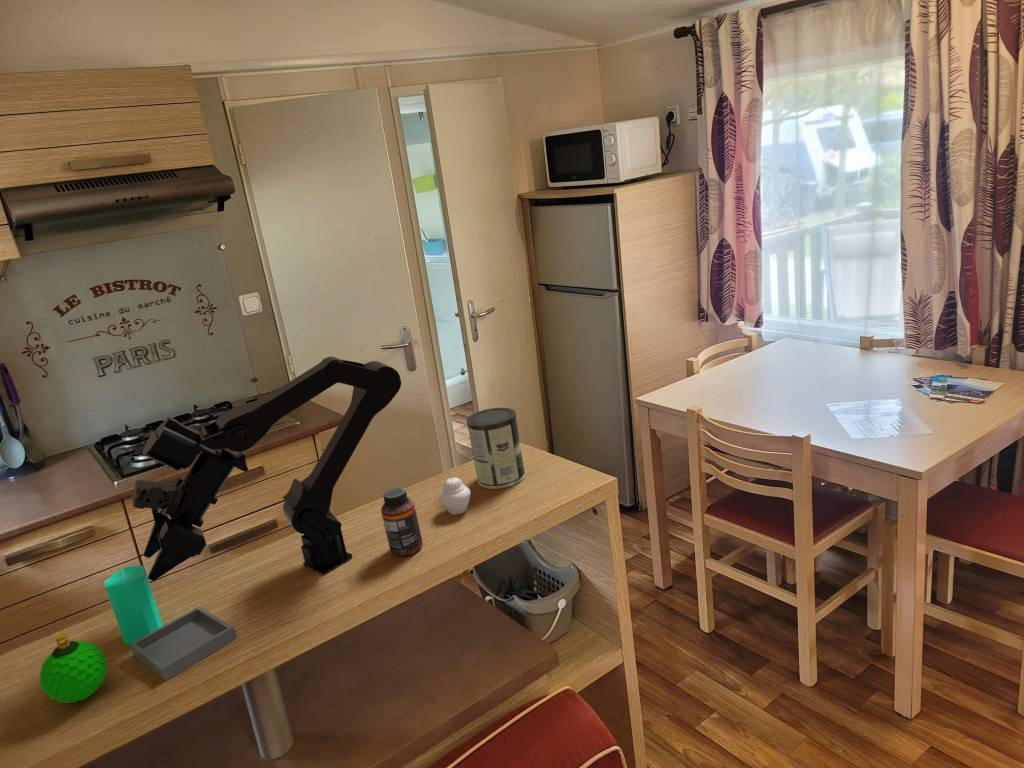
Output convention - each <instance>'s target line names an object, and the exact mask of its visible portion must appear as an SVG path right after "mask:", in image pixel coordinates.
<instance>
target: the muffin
mask: <svg viewBox="0 0 1024 768" xmlns="http://www.w3.org/2000/svg"><path fill="white" fill-rule="evenodd" d="M438 495H439V496H438V498H439V501H440V502H441V505H443V507H444V508H445V509H446V511H447V512H448V513H449V514H450V515H456V516H457V515H461V514H463V513H465V511H467V508H468V506H469V502H470V499H471V489H470V488H469V487H468V486H467V485H465V484H464V483H463V481H462V479H460V478H458V477H451V478H447V479H446V480H445V481H444V483H443V488H442V489H441V491H440V492H439V494H438Z"/></svg>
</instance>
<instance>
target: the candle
mask: <svg viewBox="0 0 1024 768" xmlns="http://www.w3.org/2000/svg"><path fill="white" fill-rule="evenodd" d="M120 568H121V569H118V570H116V571H115V572H114V573H113V574H111V575H110V577H108V578H107V579H106V580H104V581H103V586H104V588H105V591H106V593H107V596H108V598H109V602H110V605H111V608H112V611H113V613H114V617H115V620H116V622H117V625H118V628H119V631H120V634H121V636H122V640H123V642H124V644H126V645H130V644H131V643H133V642H135V641H137V640H138V639H140V638H142V637H144V636H146V635H147V634H149V633H151V632H153V631H155V630H157V629H158V628H160V627H162V626H164V625H163V621H162V619H161V615H160V612H159V609H158V606H157V604H156V603H157V602H156V600H155V597H154V593H153V591H152V588H151V584H150V581H149V579H148V575H147V572H146V570H145V567H144V565H131V566H125V567H123V566H121V567H120Z"/></svg>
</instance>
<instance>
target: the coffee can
mask: <svg viewBox="0 0 1024 768" xmlns="http://www.w3.org/2000/svg"><path fill="white" fill-rule="evenodd" d="M465 421H466V425H467V429H468V433H469V434H468V435H469V439H470V441H469V442H470V444H471V451H472V456H473V462H474V467H475V472H476V473H475V474H476V478H477V483H478V486H480V487H482V488H484V489H489V490H490V489H492V490H498V489H499V490H500V489H506V488H509V487H513V486H515V485H517V484H519V483H520V482H522V481H523V480H524V479H525V478H526V472H525V467H524V466H525V465H524V460H523V455H522V453H523V452H522V448H521V447H522V446H521V441H520V437H519V435H520V434H519V430H518V429H519V428H518V424H517V412H516V410H515V409H512V408H508V407H491V408H486V409H482V410H480V411H477V412H473V413H472V414H470V415H469V416H468V417H467V418H466V420H465Z"/></svg>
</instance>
